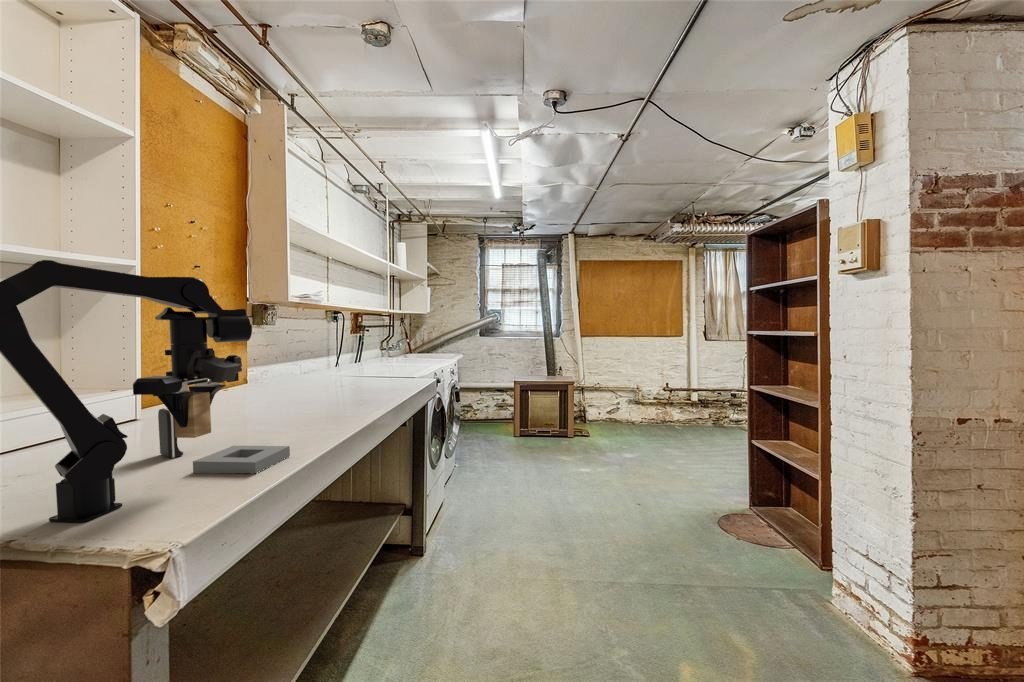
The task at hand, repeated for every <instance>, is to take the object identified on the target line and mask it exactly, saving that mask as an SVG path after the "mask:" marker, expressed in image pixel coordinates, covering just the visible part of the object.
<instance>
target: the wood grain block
mask: <svg viewBox="0 0 1024 682" xmlns="http://www.w3.org/2000/svg"><path fill="white" fill-rule="evenodd" d="M174 422H175V438H177V439H178V438H179V439H180V438H181V439H183V438H184V439H187V438H188V439H194V438H195V439H197V438H199V437H202V436H205V435H208V434H211V433H212V419H211V406H210V392H194V393H193V394H192V395H191V397H190V398H189V399H188V423H187V427H180V426H179V424H178V423H177V421H176V420H175V419H174Z"/></svg>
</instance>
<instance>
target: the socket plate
mask: <svg viewBox="0 0 1024 682" xmlns="http://www.w3.org/2000/svg"><path fill="white" fill-rule="evenodd" d="M289 456H290V457H291V449H290V445H232V446H231V445H230V446H229V447H226V448H224V449H221V450H219V451H216V452H214V453H211V454H209V455H206V456H203V457H201V458H198V459H196V460H193V461H192V473H193V474H215V473H257V472H259V471H261V470H263V469H265V468H267V467H269V466H271V465H273V464H275V463H277V462H279V461H281V460H282V461H284V460H285V459H284V458H286V459H288V458H290V457H289ZM287 457H288V458H287ZM283 459H284V460H283ZM282 461H281V462H282ZM279 463H280V462H279ZM277 464H278V463H277ZM275 465H276V464H275ZM273 466H274V465H273ZM271 467H272V466H271ZM269 468H270V467H269ZM267 469H268V468H267ZM265 470H266V469H265ZM263 471H264V470H263ZM261 472H262V471H261ZM259 473H260V472H259ZM257 474H258V473H257Z"/></svg>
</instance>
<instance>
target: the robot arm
mask: <svg viewBox="0 0 1024 682" xmlns="http://www.w3.org/2000/svg"><path fill="white" fill-rule="evenodd" d="M50 288H62V289H70V290H77V291H86V292H93V293H101V294H109V295H116V296H125V297H134V298H140V299H141V298H142V299H144V300H147V301H151V302H154V303H157V304H161V305H165V306H167V307H165V308H163V310H162V311H161V312H160V313H158V314H157V315H155V316H154V319H155V320H156V321H169V341H170V342H169V343H170V349H164V355H165V356H170V361H171V362H170V363H171V365H170V366H171V371H166V372H165V375H153V376H152V375H151V376H145V377H138V378H136V379H135V381H133V383H132V395H133V396H135V395H136V396H137V395H138V396H139V395H141V396H146V395H147V396H149V395H150V396H153V397H157V398H158V399H159V401H161V403H162V404H163V405H164V406H165V408H167V409H168V410H169V411H170V413H171V414H172V416H173V417H174V419H175V420H176V421H177V423H178V424H179V426H180V427H187V423H188V399H189V398H190V397H191V395H192V394H193V393H194V392H210V407H211V405H212V402H213V400H214V398H215V395H216V394H217V393H218V392H219V391H220V390H222V389H223V388H225V387H226V385H227V384H223V383H225V382H227V383H233V382H238V381H239V377H240V376H239V373H242V371H243V368H242V367H243V363H242V362H243V361H242V357H241V356H239V355H236V354H232V355H231V354H230V355H227V357H217V356H216V354H215V350H214V348H213V347H212V348H211V347H208V338H211V339H212V340H213V341H214V343H234V342H235V343H236V342H237V343H238V342H241V343H242V342H248V341H249V340H250V339H251V338H252V335H253V325H252V323H251V321H250V318H249V316H248V315H247V310H246V308H235V309H223V308H222V307H221V306H220V305H219V304H218V303H217V302H216V300H215V299H214V298H213V297H212V296H211V295H210V289H209V287H208V285H207V284H206V283H205V282H204V281H203V280H202V279H200V278H197V277H195V276H194V277H193V276H144V275H138V274H131V273H125V272H118V271H113V270H112V271H111V270H105V269H100V268H99V269H98V268H95V267H93V268H92V267H85V266H81V265H74V264H69V263H68V264H67V263H61V262H57V261H56V260H55V261H54V260H50V259H42V260H39V261H36V262H34V263H33V264H31V265H30V266H29V267H28V268H26V269H23V270H22V271H19V272H17V273H15V274H14V275H12V276H9V277H7V278H5V279H3V280H1V281H0V355H1V356H2V357H3V358H4V359H5V361H6V362H7V363H8V364H9V366H10V367H11V368H12V369H13V370H14V372H15V373H16V374H17V375H18V376H19V377H20V378H21V380H22V381H23V382H24V383H25V385H26V386H27V387H28V388H29V389H30V390H31V391H32V392H33V394H34V395H35V396H36V397H37V399H38V400H39V401H40V402H41V404H43V406H44V407H45V408H46V410H48V412H49V413H50V414H51V415H52V416H53V418H54V419H55V420H56V421H57V422H58V423H59V425H60V428H61V430H62V433H63V436H64V437H65V440H66V442H67V443H68V446H69V448H70V449H71V450H70V451H69V452H68V453H67V454H66V455H65V456H64V457H62V458H61V459H60V460H58V462H57V463H56V464H55V465H54V468H55V470H56V471H57V472H58V474H59V476H60V477H63V479H61V480H60V481H59V482H57V483H56V482H55V495H56V497H55V498H56V511H57V512H56V513H57V514H56V515H53V516H50V517H48V522H60V523H61V522H64V523H66V522H67V523H85V522H89V521H91V520H93V519H95V518H97V517H99V516H101V515H105V514H107V513H109V512H112V511H113V510H116V509H118V508H121V507H122V506H123V502H116V486H115V485H116V483H115V482H116V481H115V479H114V477H113V470H115V469H114V468H115V466H116V465H117V464H118V463H119V462H120V461H121V460H122V459H123V458H124V457H125V456H126V453H127V450H128V444H127V442H126V440H125V439H128V437H129V435H127V434H125V433H123V432H122V431H121V430H120V429H119V427H118V425H117V423H116V421H115V419H114V418H113V417H111V416H110V415H107V414H104V413H102V414H100V415H99V416H98V417H97V416H95V415H94V414H93V413H91V412H90V411H89V409H88V408H87V407H86V406H85V404H84V403H83V402H82V400H80V398H79V397H78V395H76V393H75V392H74V391H73V389H72V388H71V387H70V386H69V385H68V383H67V382H66V381H65V379H64V378H63V377H62V376H61V374H60V373H59V372H58V370H57V369H56V368H55V367H54V365H52V363H51V362H50V361H49V359H48V358H47V357H46V356H45V354H44V353H43V352H42V351H41V349H40V348H39V347H38V346H37V344H36V343H35V342H34V341H33V340H32V338H31V335H30V333H29V331H28V327H27V326H26V323H25V321H24V319H23V316H22V314H21V312H20V310H19V309H18V305H21V304H22V303H24V302H26V301H28V300H29V299H31V298H34V297H35V296H37V295H39V294H41V293H43V292H44V291H47V290H48V289H50ZM173 308H176V309H186V310H188V311H186V310H185V311H179V310H178V311H175V310H174V309H173ZM197 314H199V315H202V314H203V315H207V316H196V315H197ZM191 385H192V386H191Z"/></svg>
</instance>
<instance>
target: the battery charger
mask: <svg viewBox="0 0 1024 682" xmlns="http://www.w3.org/2000/svg"><path fill="white" fill-rule="evenodd" d="M157 415H158V416H157V418H158V419H157V420H158V437H159V438H158V440H159V454H161V455H162V456H164V457H165V458H168V459H174V458H177V457H181V456H183V455H184V451H182V450H180V448H179V447H178V446H179V445H178V438H175V422H174V417H173V416H172V414H171V413H170V411H169V410H168V409H167V407H164V408H160V409H158V412H157Z"/></svg>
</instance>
